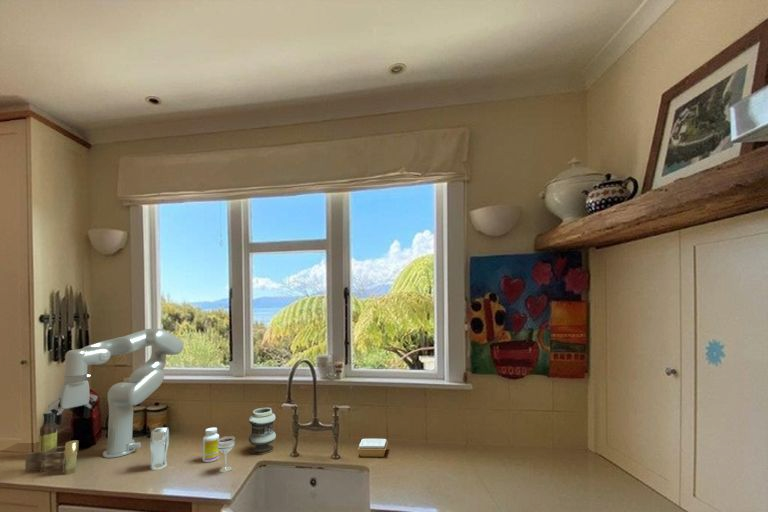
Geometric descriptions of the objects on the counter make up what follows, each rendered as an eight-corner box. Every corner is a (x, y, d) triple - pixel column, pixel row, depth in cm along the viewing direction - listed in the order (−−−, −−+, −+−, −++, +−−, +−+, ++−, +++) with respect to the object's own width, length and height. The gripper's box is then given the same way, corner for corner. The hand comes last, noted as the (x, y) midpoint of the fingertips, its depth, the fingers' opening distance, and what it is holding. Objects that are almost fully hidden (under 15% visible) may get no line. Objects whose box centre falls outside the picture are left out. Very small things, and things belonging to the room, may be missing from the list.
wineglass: (230, 473, 154) (230, 441, 155) (213, 473, 154) (214, 442, 156) (237, 465, 161) (237, 435, 162) (221, 465, 161) (221, 436, 162)
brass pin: (78, 469, 160) (80, 439, 162) (72, 474, 157) (74, 443, 158) (67, 470, 160) (69, 440, 161) (61, 474, 156) (63, 444, 157)
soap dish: (388, 449, 175) (388, 438, 175) (385, 458, 165) (385, 446, 166) (361, 449, 176) (361, 437, 177) (357, 457, 166) (357, 445, 167)
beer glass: (148, 471, 157) (150, 433, 159) (149, 465, 163) (151, 428, 165) (167, 468, 160) (169, 430, 162) (168, 462, 166) (169, 426, 168)
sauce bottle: (60, 454, 178) (63, 410, 180) (47, 460, 171) (50, 414, 174) (47, 454, 178) (50, 410, 180) (33, 459, 172) (37, 414, 174)
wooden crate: (86, 455, 176) (87, 438, 177) (63, 470, 160) (64, 452, 161) (46, 458, 173) (47, 441, 174) (18, 474, 157) (19, 456, 158)
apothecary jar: (243, 455, 172) (244, 413, 174) (255, 444, 184) (256, 406, 186) (269, 455, 170) (269, 413, 172) (279, 445, 182) (280, 406, 184)
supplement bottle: (221, 459, 168) (222, 428, 169) (206, 464, 163) (206, 432, 165) (215, 455, 172) (215, 425, 174) (199, 459, 168) (200, 429, 169)
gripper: (94, 374, 172) (92, 414, 170) (46, 382, 157) (42, 425, 155) (103, 376, 168) (100, 416, 166) (54, 384, 153) (50, 428, 151)
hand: (72, 421), depth 160 cm, fingers open, 9 cm apart
